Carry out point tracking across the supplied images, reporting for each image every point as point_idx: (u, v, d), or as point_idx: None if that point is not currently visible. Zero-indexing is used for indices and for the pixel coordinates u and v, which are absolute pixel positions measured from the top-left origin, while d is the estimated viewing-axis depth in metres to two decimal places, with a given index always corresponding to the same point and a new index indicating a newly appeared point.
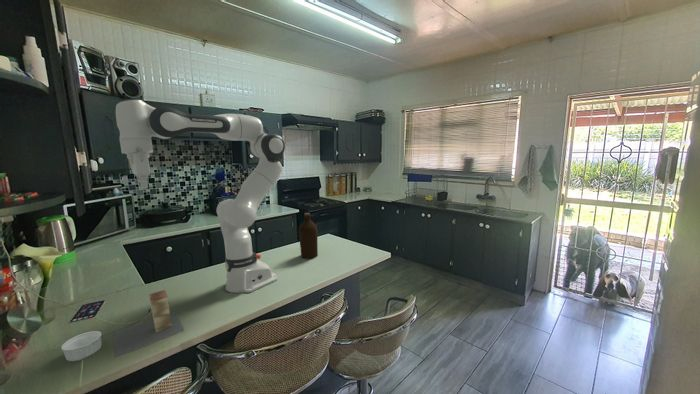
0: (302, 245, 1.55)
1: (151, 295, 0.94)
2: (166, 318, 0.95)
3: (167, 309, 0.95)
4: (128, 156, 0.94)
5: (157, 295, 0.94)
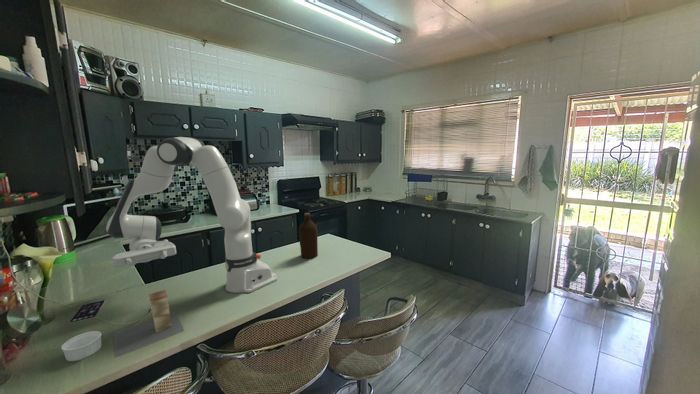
0: (302, 245, 1.55)
1: (151, 295, 0.94)
2: (166, 318, 0.95)
3: (167, 309, 0.95)
4: None
5: (157, 295, 0.94)
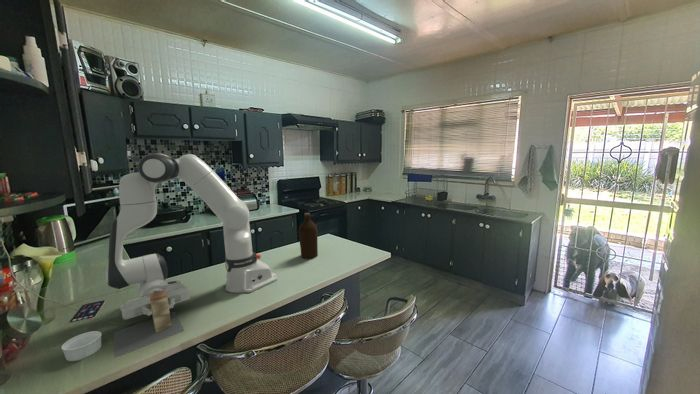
0: (302, 245, 1.55)
1: (151, 295, 0.94)
2: (166, 318, 0.95)
3: (167, 309, 0.95)
4: None
5: (157, 295, 0.94)
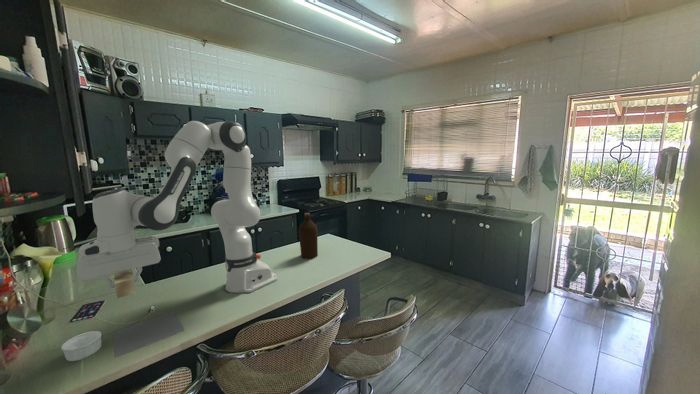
0: (302, 245, 1.55)
1: None
2: None
3: None
4: (125, 251, 0.86)
5: None
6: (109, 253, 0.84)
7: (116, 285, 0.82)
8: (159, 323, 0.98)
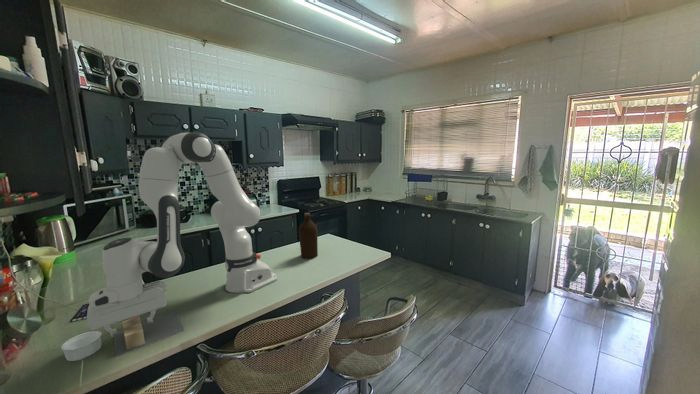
0: (302, 245, 1.55)
1: None
2: None
3: None
4: (133, 299, 0.88)
5: None
6: (118, 301, 0.86)
7: (126, 338, 0.85)
8: (159, 323, 0.98)
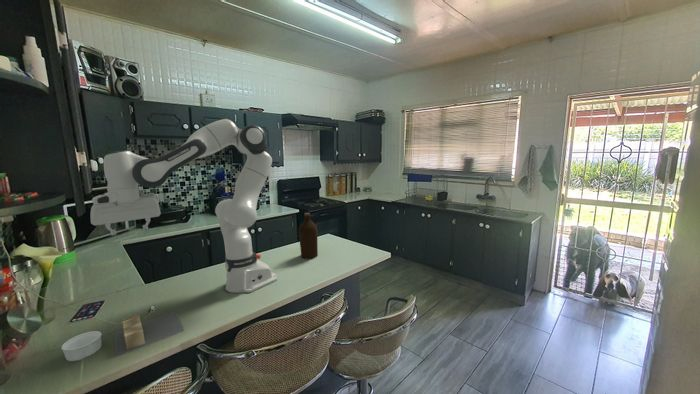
0: (302, 245, 1.55)
1: None
2: None
3: None
4: (130, 203, 1.01)
5: None
6: (117, 204, 0.99)
7: (126, 338, 0.85)
8: (159, 323, 0.98)
